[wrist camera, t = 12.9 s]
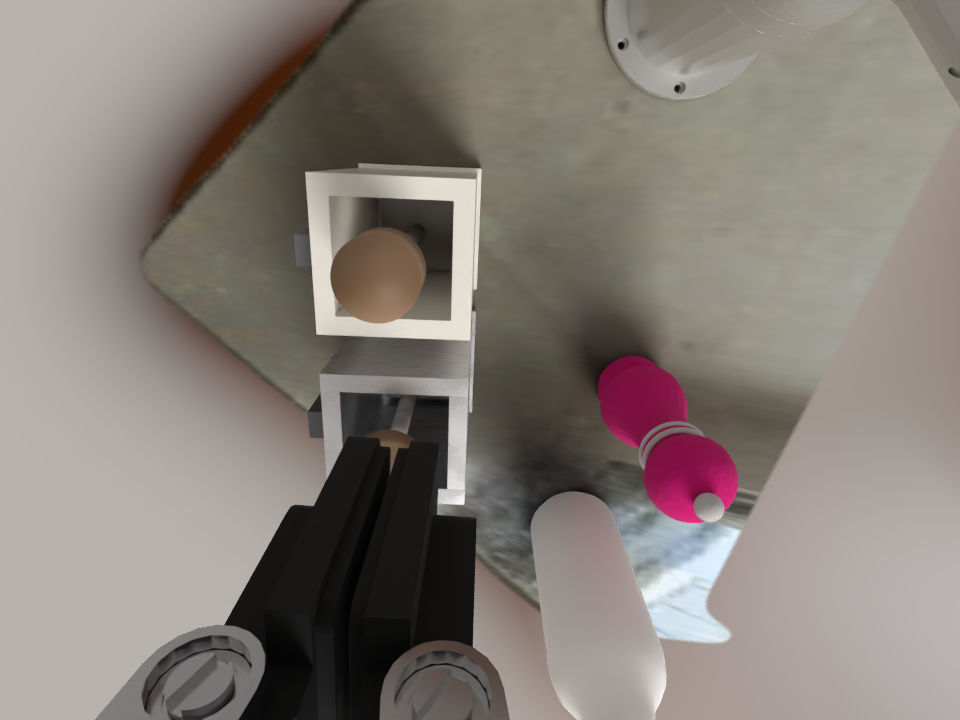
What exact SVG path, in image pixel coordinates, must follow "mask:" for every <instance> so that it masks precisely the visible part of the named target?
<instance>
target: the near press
mask: <svg viewBox="0 0 960 720" xmlns="http://www.w3.org/2000/svg"><path fill="white" fill-rule="evenodd" d="M481 172H482V169H481V168H459V167H436V166H413V165H390V164H367V163H358V168H349V169H336V170H323V171H310V172H305V175H306V189H307V204H308V218H309V228H308V229H305V230H303V231H300V232H298V233H295V234H294V246H295V259H296V267H308V268H312V275H313V289H314V304H315V318H316V332H317V335H341V336H366V337H392V338H417V339H442V340H467V341H470V335H471V319H472V303H473V289H477V272H478V247H479V222H480V197H481ZM381 198H396V199H419V200H443V201H454V214H453V258H452V269H436V268H426V277H425V281H424V284H423V287H422V289H421V291H420V293H419V295H418V298H417V300H416V302H415V304H414V305H413V306H412V308H411V309H410V310H409V311H408V312H407V313H406V314H405V315H404V316H402V317H401V318H399V319H397V320H394V321H392V322H388V323H380V324H376V323H369V322H365V321H362V320H359V319H357V318H355V317H354V316H352V315H351V314H349V313H348V312H347V311H346V310H345V309H344V308H343V307H342V306H341V305H340V304H339V302H338V301H337V299H336V297H335V295H334V293H333V290H332V287H331V281H330V271H331V266H332V262H333V260H334V257H335V256H336V254H337V252H338V251H339V250H340V249H341V247H342V246H344V245H345V244H346V243H347V242H349V241H350V240H352V239H353V238H355V237H357V236H358V235H360V234H361V233H363V232H365V231H367V230H369V229H372V228H377V227H381Z"/></svg>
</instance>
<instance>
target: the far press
mask: <svg viewBox="0 0 960 720" xmlns="http://www.w3.org/2000/svg"><path fill="white" fill-rule="evenodd" d="M475 323H476V309H475V308H472V319H471V335H470V341H467V340H442V339H417V338H392V337H366V336H347V338H346V339H345V340H344V342H343V343H342V344H341V346H340V347H339V348H338V350H337V351H336V352H335V354H334V355H333V356H332V358H331V359H330V360H329V362H328V363H327V364H326V366H325V367H324V368H323V370H322V371H321V372H320V374H319V375H320V389H321V393H320V395H319V396H318V398H317V399H316V401H315V402H314V403H313V405H312V406H311V408H310V409H309V411H308V420H309V432H310V437H312V438H324V445H325V459H326V474H327V478H328V476H329V474H330V472H331V470H332V468H333V466H334V464H335V462H336V460H337V458H338V456H339V454H340V452H341V450H342V448H343V446H344V444H345V442H346V439H347V438H348V436H356V437H366V436H367V435H369V434H370V433H372V432H375V431H379V430H388V429H389V430H390V428H391V425H392V422H393V419H394V416H395V413H396V410H397V407H398V404H399V401H400V398H401V397H385V394H404V395H430V396H449V399H429V398H417V399H416V403H415V406H414V410H413V414H412V417H411V421H410V425H409V428H408V432H407V435H409V436H410V437H412V438H413V439H414V440H415V441H424V442H437V443H441V450H440V468H439V486H438V503H437V504H461V505H464V498H465V478H466V458H467V438H468V418H469V412H472V398H473V373H474V348H475Z"/></svg>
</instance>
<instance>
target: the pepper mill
mask: <svg viewBox="0 0 960 720" xmlns="http://www.w3.org/2000/svg"><path fill="white" fill-rule="evenodd" d="M597 392H598V397H599V399H600V401H601V414H602V417H603V420H604V422H605V424H606V425H607V427H608V428H609V430H610V431H611V432H612V433H613V434H614V435H615V436H616V437H617V438H618V439H620V440H621V441H623V442H624V443H626V444H628V445H630V446H633V447H636V448H639V461H640V464H641V466H642V468H643V470H644V484H645V488H646V490H647V493H648V496H649V497H650V499H651V500H652V502H653V503H654V504H655V505H656V507H657V508H658V509H659V510H661V511H662V512H663V513H664V514H666V515H667V516H669V517H671V518H673V519H676V520H678V521H682V522H687V523H701V522H705V521H706V522H714V521H717V520H719V519H720V518H721V517H722V515H723V514H724V511H725V510H726V509H727V508H728V507H729V506H730V504H731V503H732V502H733V500H734V498H735V495H736V493H737V489H738V475H737V470H736V467H735V464H734V463H733V461H732V459H731V457H730V455H729V454H728V453H727V451H726V450H725V449H724V448H723V447H722V446H721V445H719V444H718V443H716V442H714V441H713V440H711V439H709V438H706V437H705V436H704V435H703V434H702V432H701V431H700V430H699V429H698V428H696V427H695V426H693V425H691V424H689V423H687V422H686V417H687V402H686V398H685V394H684V392H683V390H682V388H681V386H680V385H679V383H678V382H677V381H676V379H675V378H674V377H673V376H672V375H671V374H669V373H668V372H666V371H665V370H663V369H661V368H658V367H657V366H656V364H654V363H653V362H652V361H650V360H649V359H646V358H644V357H641V356H626V357H622V358H620V359H617V360H615V361H613V362H612V363H611V364H609V365H608V366H607V367H606V368H605V369H604V371H603V372H602V374H601V376H600V378H599V381H598V387H597Z"/></svg>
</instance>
